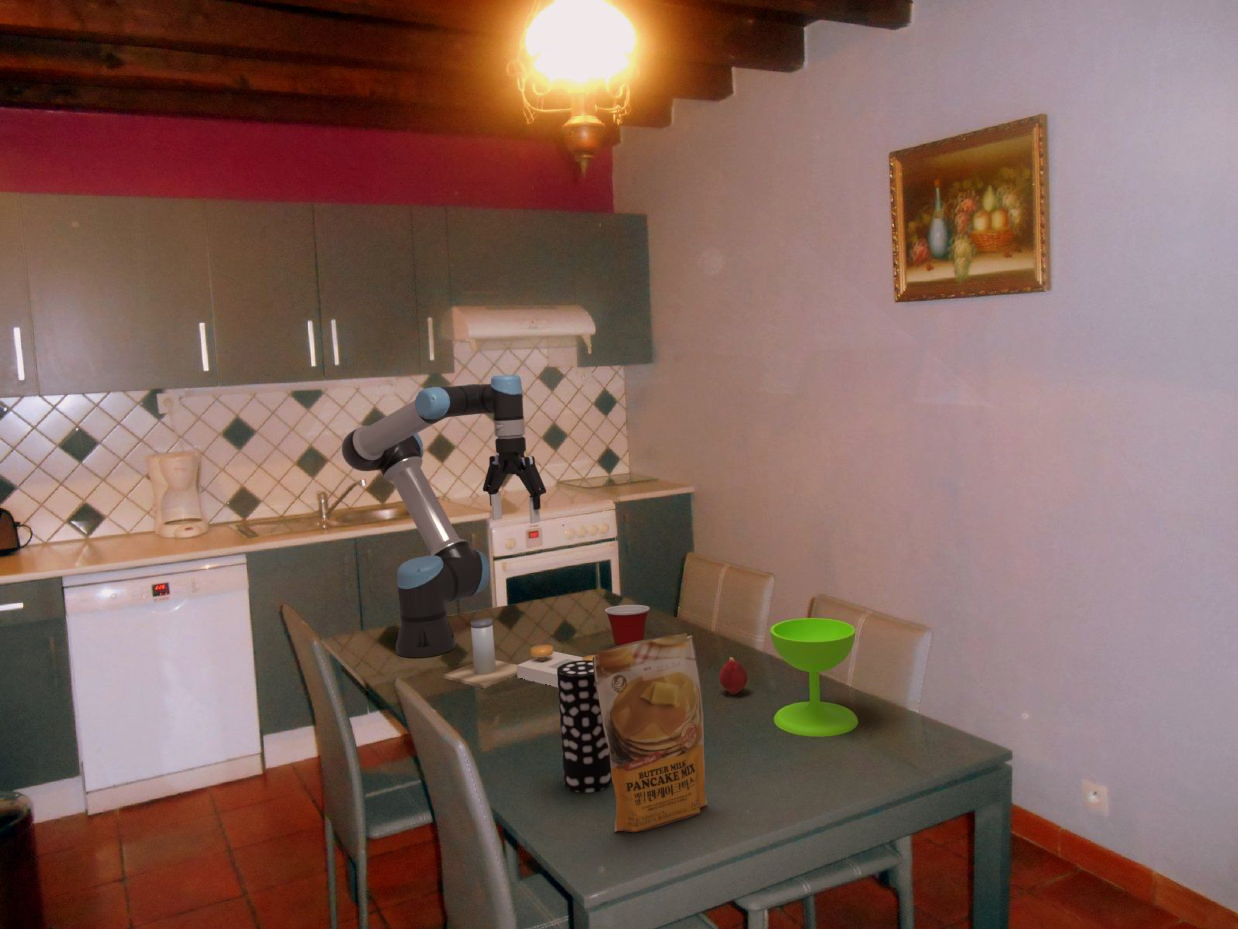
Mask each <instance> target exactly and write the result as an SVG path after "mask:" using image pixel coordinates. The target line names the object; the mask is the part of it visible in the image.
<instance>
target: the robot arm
mask: <svg viewBox="0 0 1238 929" xmlns="http://www.w3.org/2000/svg"><path fill="white" fill-rule="evenodd" d="M523 392H524V391H523V387H522V378H521V377H520V376H519V375H518V374H505V375H501V374H500V375H493V376H491V378H490V383H485V384H484V383H480V384H479V383H471V384H463V385H449V386H431V387H428V388H422V389H421V390H420V391H418V393H417V395H416V396H415V399H414V400H413V401H411V402H409V403H408V404H405V405H404V406H402V407H400V408H399V409H397V410H396V411H393V412H392V413H389V414H388V415H387V416H385V417H383V418H381V419H379V420H377V421H376V422H373V423H372V424H371V425H361V426H359V427H357V428H356V429H354V430H352V431H351V432H350V433H348V434H347V435H346V436H344V439H343V441H342V445H341V454H342V456H343V460H344V461H345V463H346V464H347V465H349V467H351V468H352V469H354V470H357V471H360V472H374V471H380V473H381V475H382V476H383V479H384V480H385V481H387V482H391V483H393V486H394V487H395V489H396V490H397V493H398V495H399V497H400V498H401V500H402V503H403V504H404V506H405V508H406V510H407V512H408V513H409V516H410V517H411V519H412V521H413V523H414V525H415V526H416V529H417V530H418V532H419V535H420V536H421V538H422V539H423V540H422V541H423V542H424V543H425V545H426V547H427V550H428V551H429V553H430V555H423V556H419V557H413V558H411V559H408V560H406V561H404V562H402V563H401V564H400V566H398V568H397V571H396V574H397V576H396V578H397V581H396V586H397V592H398V601H399V602H398V604H399V613H400V615H399V616H400V626H399V629H398V635H397V640H396V641H395V642H396V643H395V651H396V654H397V655H398V656H400V657H404V658H414V659H415V658H429V657H435V656H439V655H442V654H443V655H444V654H446V653H448V652H450V651H452V650H454V649H455V648H456V646H457V644H456V643H457V642H456V637H455V634H454V632H453V629H452V627H451V625H450V622H449V619H448V616H447V605H446V604H447V603H451V602H455V601H457V600H462V599H463V598H467V597H468V598H469V597H473V596H474V595H476V594H479V593H481V592H483V591H484V590H485V589H486V587H487V586H488V584H489V582H490V575H491V566H490V563H489V559H488V558H487V556H486V555H485V553H483V552H482V551H480V550H478V549H472V547H471V546H470V543H469V542H468V541H467V540H466V539H462V538H460V537H459V536H458V534H457V532H456V530H455V528H454V527H453V525H452V523H451V521H450V518H448V516H447V514H446V512H445V510H444V509H443V506H442V505H441V502H440V501H439V498H438V497H437V496H436V493H435V491H434V490H433V488H432V487H431V484H430V483H429V481H428V479H427V477H426V475H425V474H424V471H423V469H422V468H421V467H422V465H423V457H424V448H423V447H424V445H423V444H424V443H423V440H422V438H421V437H420V435H419V433H420V432H421V431H424V430H425V429H427V428H429V427H431V426H433V425H435V424H437V423H439V422H440V421H443V420H444V419H447V418H455V417H462V416H473V415H482V414H483V415H485V414H493V424H494V436H495V437H497V438H496V439H495V440H494V442H495V443H494V444H495V452H496V453H497V455H490V456H489V458H488V460H489V463H488V464H489V465H488V469H487V472H486V474H485V479H484V483H483V487H482V491H483V492H484V493H485V492H487V494H488V495H489V505H490V507H491V516H492V517H491V520H492V521H497V520H502V519H503V511H502V510H503V509H502V498H501V497H502V496H501V492H500V491H499V490H500V489H501V487H502V485H503V483H504V481H505V479H506V477H507V475H515V476H516V477H518V478H519V479H520V481H521V482H522V484H523V485H524V487H525V488H526V490H527V491H528V494H530V495H529V496H528V509H529V511H528V512H529V522H530V524H536V523H540V522H541V516H540V515H541V514H540V510H541V508H542V507H541V506H542V505H541V496H542V495H543V494H546V493H547V489H546V486H545V484H544V482H543V480H542V476H541V475H540V472H539V470H538V467H537V465H536V461H535V460H536V459H535V456H534V455H529V456H525V453H526V451H527V444H526V437H525V436H524V435H525V434H526V430H525V429H526V426H525V417H524V404H523V403H524V400H523V399H524V397H523Z"/></svg>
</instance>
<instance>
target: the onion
mask: <svg viewBox="0 0 1238 929" xmlns="http://www.w3.org/2000/svg"><path fill="white" fill-rule="evenodd" d="M718 677H719V683H720V684H721V686H722V687H723V688H724V689H725V690H726V691H727V692H729V694H730V695H732V696H733V695H737V694H738V693H739V692H741V691H742V690H743V689H744V688H745V687H746V685H747V684H748V675H747V671H746V670H745V668H744V667H743V665H742V664H741V663H740V662H738V661H736V659H734V657H732V656H729V661H728V662H727V663H725V664H724V665H723V666H722V668H721V669H720V672H719V676H718Z"/></svg>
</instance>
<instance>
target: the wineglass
mask: <svg viewBox="0 0 1238 929" xmlns="http://www.w3.org/2000/svg"><path fill="white" fill-rule="evenodd" d="M769 632H770V636H771V642H772V644H773V646H774V648H775V650H776V652H777V654H778V655H779V656H780V657H781V658H782V659H783V660H784V661H785V662H786V663H787V664H789V665H790V666H791V667H792V668H795V669H796V670H800V671H804V672H807V673H808V683H809V701H800V702H794V703H790V704H788V705H786V706H783V707H782V708H780V709H779V710H777V712H776V713H775V715H774V717H773V722H774V724H775V725H776V727H777V728H779V729H781V730H783V731H785V732H787V733H790V734H794V735H798V736H803V737H810V738H811V737H813V738H814V737H819V738H820V737H821V738H823V737H834V736H839V735H844V734H846V733H848V732H851V731H852V730H854V729H856V728H857V725H859V721H858V720H859V719H858V717H857V715H856V714H855V713H854V712H853V711H852V710H851V709H849V708H848V707H845V706H842V705H840V704H837V703H833V702H828V701H827V702H826V701H821V699H820V698H821V697H820V695H821V694H820V693H821V692H820V672H826V671H829V670H832V669H834V668H835V667H836V666H838V665H840V664H841V663H843V662H844V660H845V659H846V658H847V656H848V655H849V654H850V652H851V651H852V648H853V646H854V643H855V637H856V628H855V627H854V625H852V624H850V623H847V622H845V621H841V620H838V619H831V618H823V617H822V618H820V617H818V618H817V617H803V618H795V619H788V620H787V619H786V620H784V621H780V622H778V623H775V624H774V625H772V626H771V627H770V631H769Z"/></svg>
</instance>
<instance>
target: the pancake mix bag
mask: <svg viewBox="0 0 1238 929" xmlns="http://www.w3.org/2000/svg"><path fill="white" fill-rule="evenodd" d="M695 645H696V644H695V640H694V636H693V635H688V632H687V631H685V632H684V631H683V632H680V631H679V632H676V633H672V634H671V633H670V634H666V635H663V636H659V637H654V638H649V639H644V640H641V641H636V642H632V643H628V644H625V645H620V646H616V645H615V646H612V647H609V648H606V649H603V650H599V651H598V652H597V653H596V654H594V655H595V656H594V657H593V658H592V660H593V670H594V678H595V686H596V691H597V694H598V697H599V704H600V711H601V718H602V724H603V729H604V733H605V737H606V741H607V744H608V748H609V753H610V764H611V775H612V785H613V789H614V794H615V802H616V803H615V804H616V812H615V813H616V814H615V822H614V829H613V832H614V833H616V832H622V831H623V832H629V833H637V832H643V831H647V830H650V829H654V828H657V827H662V826H664V825H668V824H671V823H674V822H677V821H680V820H681V821H682V820H685V819H689V818H690V817H694V816H695V817H696V816H697V815H700V814H701V809H702V808H704V807H705V806H706V805H708V801H707V797H706V791H705V784H706V783H705V780H706V778H705V776H706V775H705V774H706V772H705V770H706V769H705V768H706V767H705V765H706V764H705V746H704V745H705V744H704V743H705V742H704V741H705V740H704V739H705V738H704V736H705V733H704V732H705V730H704V729H705V728H704V727H705V726H704V720H705V719H704V709H703V690H702V689H703V688H702V684H701V676H700V670H699V665H698V658H697V657H698V656H697V649H696V646H695Z"/></svg>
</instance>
